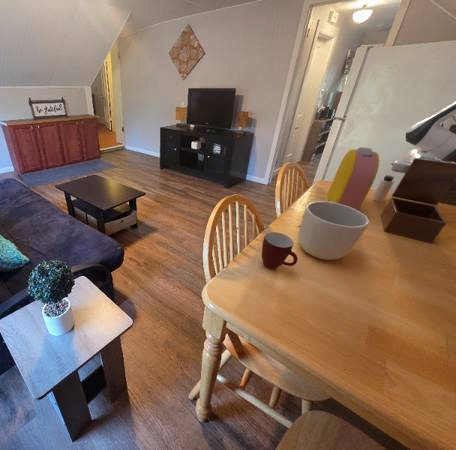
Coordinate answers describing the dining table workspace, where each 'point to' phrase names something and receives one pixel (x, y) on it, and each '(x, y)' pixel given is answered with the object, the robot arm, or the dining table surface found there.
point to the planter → (331, 229)
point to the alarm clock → (354, 178)
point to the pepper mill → (383, 188)
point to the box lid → (426, 181)
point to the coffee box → (412, 220)
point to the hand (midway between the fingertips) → (429, 175)
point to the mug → (277, 250)
